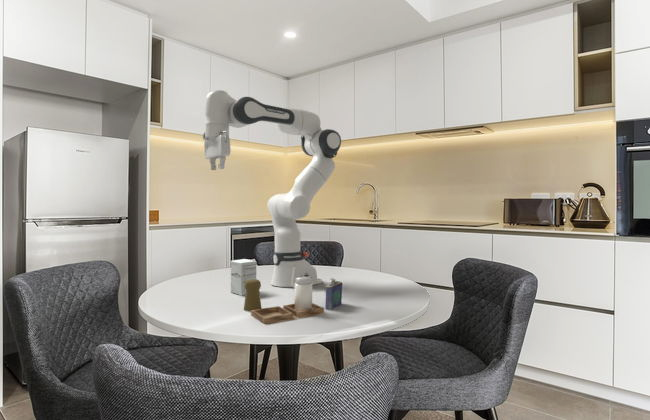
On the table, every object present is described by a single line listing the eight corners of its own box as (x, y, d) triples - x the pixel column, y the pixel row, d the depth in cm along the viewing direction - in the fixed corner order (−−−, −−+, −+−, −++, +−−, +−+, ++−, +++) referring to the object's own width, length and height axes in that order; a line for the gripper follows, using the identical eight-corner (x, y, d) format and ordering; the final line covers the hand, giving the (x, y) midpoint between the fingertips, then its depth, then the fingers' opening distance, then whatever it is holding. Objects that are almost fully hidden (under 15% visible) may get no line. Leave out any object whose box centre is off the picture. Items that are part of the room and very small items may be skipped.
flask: (330, 314, 128) (330, 281, 128) (322, 313, 130) (322, 280, 129) (343, 308, 136) (343, 276, 136) (335, 306, 138) (335, 275, 137)
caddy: (307, 309, 134) (307, 300, 134) (325, 318, 125) (325, 308, 125) (249, 319, 123) (249, 309, 123) (265, 329, 114) (265, 319, 113)
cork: (265, 312, 131) (265, 278, 130) (255, 317, 125) (255, 282, 125) (250, 310, 133) (250, 277, 133) (239, 314, 128) (239, 280, 127)
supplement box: (230, 292, 157) (230, 260, 156) (245, 289, 162) (245, 258, 162) (241, 296, 152) (241, 262, 151) (256, 292, 157) (257, 260, 157)
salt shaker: (306, 307, 130) (306, 275, 130) (315, 312, 126) (315, 278, 125) (291, 310, 127) (291, 277, 127) (300, 314, 123) (300, 280, 122)
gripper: (234, 130, 147) (234, 168, 148) (217, 137, 164) (217, 171, 165) (217, 129, 144) (218, 167, 144) (201, 136, 161) (201, 170, 161)
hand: (217, 169), depth 155 cm, fingers open, 8 cm apart
